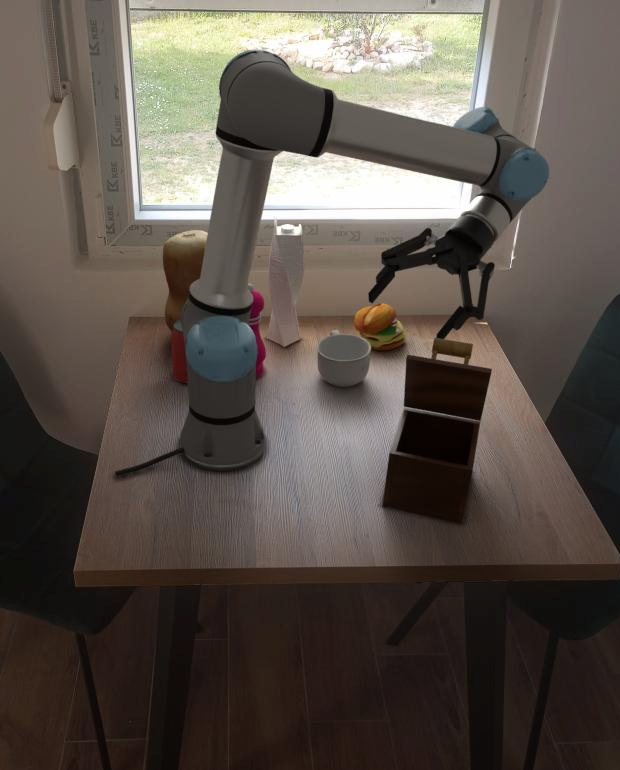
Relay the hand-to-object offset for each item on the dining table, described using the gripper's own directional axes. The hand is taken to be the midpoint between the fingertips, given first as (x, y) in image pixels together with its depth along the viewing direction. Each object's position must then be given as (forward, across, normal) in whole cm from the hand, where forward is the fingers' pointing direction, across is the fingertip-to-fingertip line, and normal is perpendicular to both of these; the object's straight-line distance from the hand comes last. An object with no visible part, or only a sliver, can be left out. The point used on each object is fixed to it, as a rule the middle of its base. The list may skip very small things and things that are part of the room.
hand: (403, 318), depth 131 cm
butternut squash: (+14, +45, -35) cm, 59 cm away
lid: (+6, -12, -2) cm, 14 cm away
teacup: (+4, +13, -33) cm, 35 cm away
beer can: (+24, +36, -26) cm, 51 cm away
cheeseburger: (-11, +14, -42) cm, 46 cm away
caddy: (+18, -18, -15) cm, 29 cm away
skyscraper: (+2, +31, -39) cm, 50 cm away
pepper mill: (+15, +28, -30) cm, 44 cm away
